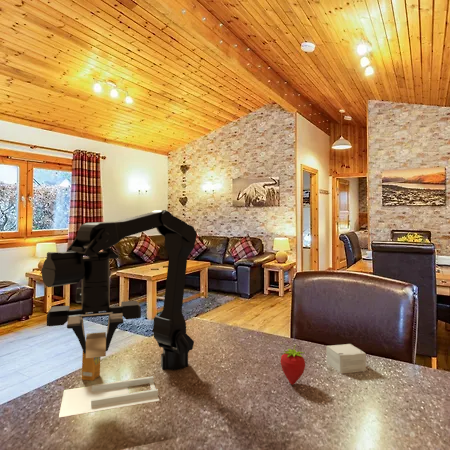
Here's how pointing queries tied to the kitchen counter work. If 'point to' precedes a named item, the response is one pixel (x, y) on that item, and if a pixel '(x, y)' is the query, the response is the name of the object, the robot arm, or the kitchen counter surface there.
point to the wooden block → (96, 345)
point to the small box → (346, 358)
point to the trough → (106, 396)
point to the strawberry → (292, 365)
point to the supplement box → (90, 368)
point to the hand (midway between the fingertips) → (96, 351)
